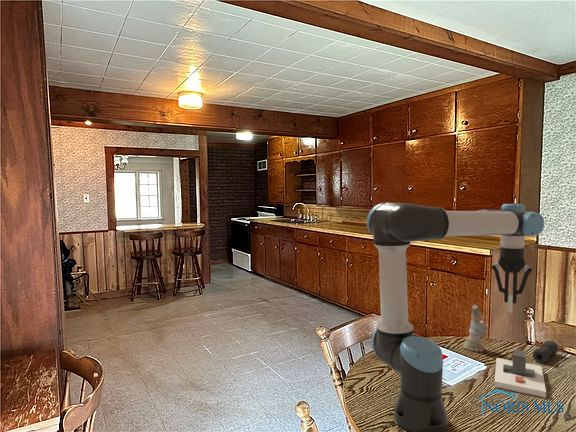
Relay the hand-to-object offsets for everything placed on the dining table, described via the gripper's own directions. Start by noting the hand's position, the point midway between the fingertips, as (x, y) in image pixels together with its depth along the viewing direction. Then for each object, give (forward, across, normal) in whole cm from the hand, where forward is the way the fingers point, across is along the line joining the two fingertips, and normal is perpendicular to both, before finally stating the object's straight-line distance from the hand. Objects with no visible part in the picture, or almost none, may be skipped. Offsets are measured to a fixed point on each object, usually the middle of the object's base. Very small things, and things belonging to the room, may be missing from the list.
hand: (509, 311), depth 140 cm
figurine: (+25, +12, -23) cm, 36 cm away
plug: (+24, -4, -3) cm, 25 cm away
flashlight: (+25, -13, -28) cm, 39 cm away
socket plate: (+25, -4, -1) cm, 25 cm away
